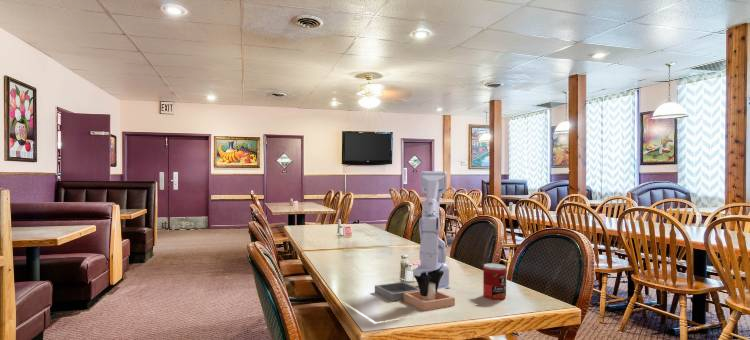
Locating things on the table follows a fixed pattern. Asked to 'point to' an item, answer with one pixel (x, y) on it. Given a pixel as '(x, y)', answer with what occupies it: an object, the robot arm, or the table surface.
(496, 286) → the canned food
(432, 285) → the white rounded cylinder
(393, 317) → the table surface
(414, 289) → the bin
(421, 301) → the dump bin
